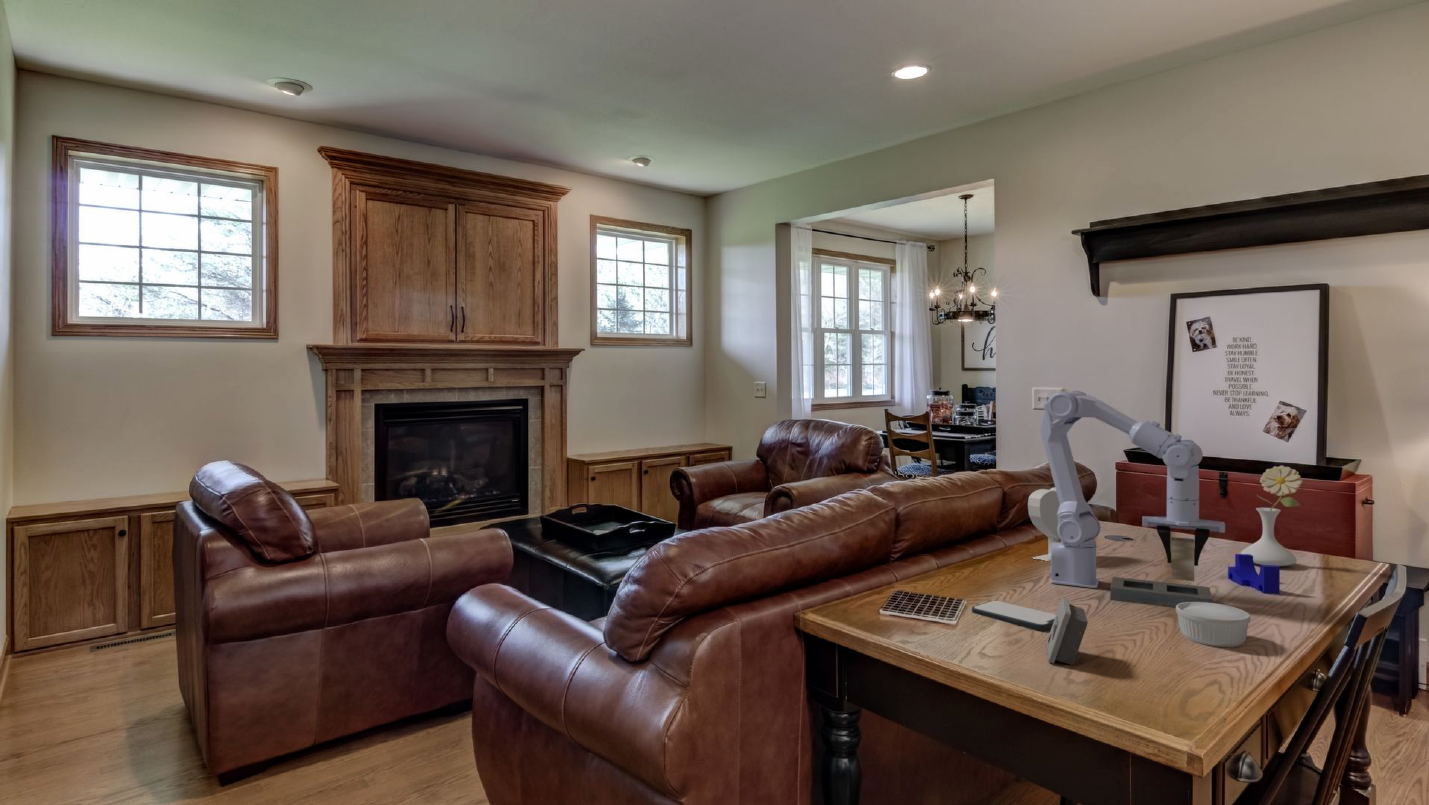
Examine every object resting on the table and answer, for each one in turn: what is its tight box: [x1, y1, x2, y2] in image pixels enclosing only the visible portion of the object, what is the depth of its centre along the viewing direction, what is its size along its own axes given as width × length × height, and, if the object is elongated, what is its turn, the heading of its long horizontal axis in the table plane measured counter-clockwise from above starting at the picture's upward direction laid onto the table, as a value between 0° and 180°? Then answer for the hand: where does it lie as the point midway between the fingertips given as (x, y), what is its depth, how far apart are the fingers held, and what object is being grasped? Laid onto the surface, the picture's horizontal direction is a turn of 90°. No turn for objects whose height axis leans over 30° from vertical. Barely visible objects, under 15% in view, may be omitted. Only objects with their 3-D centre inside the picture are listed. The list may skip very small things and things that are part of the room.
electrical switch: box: [1046, 597, 1089, 666], centre depth 126 cm, size 9×5×9 cm, turn 158°
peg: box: [1170, 536, 1195, 582], centre depth 155 cm, size 4×4×8 cm
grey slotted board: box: [1110, 576, 1213, 608], centre depth 158 cm, size 18×10×2 cm, turn 59°
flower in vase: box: [1240, 465, 1303, 567], centre depth 185 cm, size 13×11×25 cm
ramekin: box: [1175, 602, 1251, 648], centre depth 134 cm, size 11×11×5 cm
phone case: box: [971, 600, 1056, 633], centre depth 147 cm, size 9×2×16 cm
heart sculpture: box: [1027, 486, 1061, 561], centre depth 196 cm, size 16×5×18 cm, turn 119°
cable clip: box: [1227, 553, 1281, 595], centre depth 167 cm, size 12×4×6 cm, turn 170°
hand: (1182, 563), depth 156 cm, fingers closed on peg, 4 cm apart
